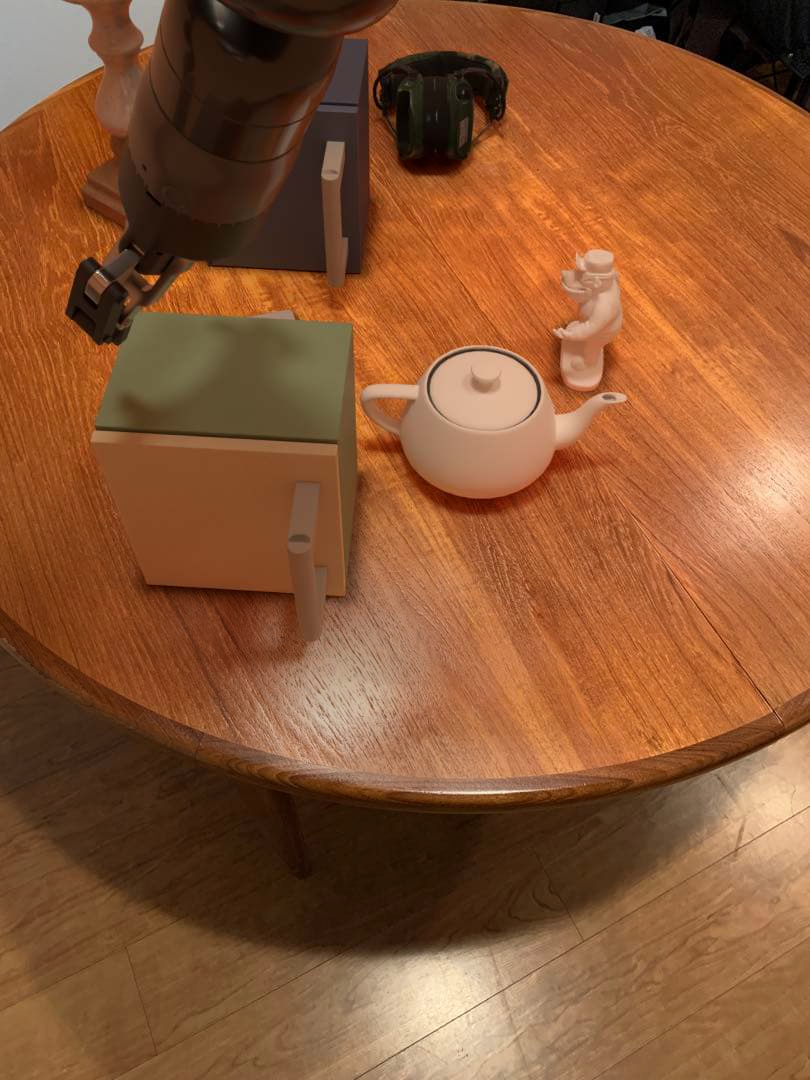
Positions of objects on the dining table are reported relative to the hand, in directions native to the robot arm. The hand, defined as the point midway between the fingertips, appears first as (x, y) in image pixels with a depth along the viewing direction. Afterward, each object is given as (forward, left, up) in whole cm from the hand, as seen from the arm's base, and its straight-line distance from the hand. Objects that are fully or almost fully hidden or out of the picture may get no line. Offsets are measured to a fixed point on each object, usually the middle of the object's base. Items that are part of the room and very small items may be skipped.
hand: (156, 290), depth 59 cm
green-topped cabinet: (+4, -1, -24) cm, 24 cm away
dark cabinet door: (+2, +29, -24) cm, 38 cm away
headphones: (+17, +58, -24) cm, 66 cm away
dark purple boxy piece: (+2, +38, -24) cm, 45 cm away
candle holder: (-14, +42, -24) cm, 51 cm away
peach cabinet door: (+4, -10, -24) cm, 26 cm away
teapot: (+23, +8, -24) cm, 35 cm away
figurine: (+32, +21, -24) cm, 46 cm away
